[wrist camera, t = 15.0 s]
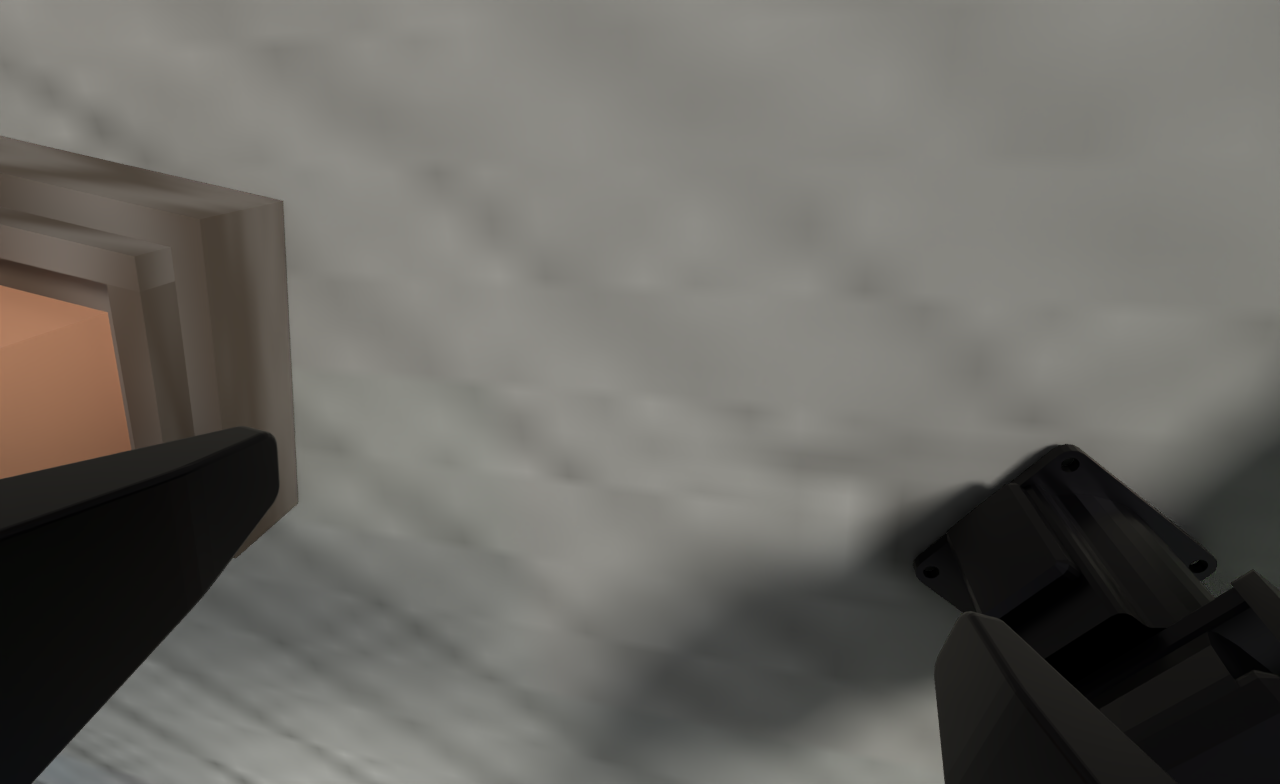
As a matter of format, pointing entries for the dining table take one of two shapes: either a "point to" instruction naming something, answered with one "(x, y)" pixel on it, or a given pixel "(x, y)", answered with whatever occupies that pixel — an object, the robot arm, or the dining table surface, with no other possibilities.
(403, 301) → the dining table surface
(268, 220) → the base block
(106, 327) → the terracotta column
